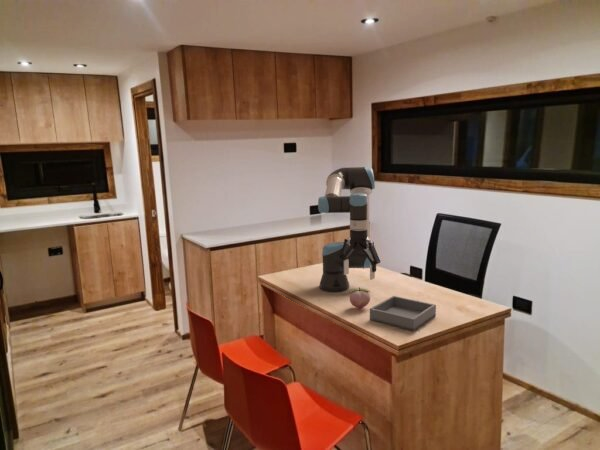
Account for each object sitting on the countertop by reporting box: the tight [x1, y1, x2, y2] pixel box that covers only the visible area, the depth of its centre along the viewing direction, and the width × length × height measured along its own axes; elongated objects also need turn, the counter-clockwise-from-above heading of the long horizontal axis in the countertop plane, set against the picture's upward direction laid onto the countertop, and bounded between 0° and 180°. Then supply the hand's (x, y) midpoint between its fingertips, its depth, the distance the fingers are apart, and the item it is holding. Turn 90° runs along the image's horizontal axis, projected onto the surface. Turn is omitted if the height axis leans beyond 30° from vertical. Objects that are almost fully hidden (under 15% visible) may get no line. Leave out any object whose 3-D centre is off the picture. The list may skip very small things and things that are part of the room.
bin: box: [369, 295, 437, 333], centre depth 190 cm, size 20×20×5 cm
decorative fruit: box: [349, 287, 371, 310], centre depth 203 cm, size 9×8×10 cm
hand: (359, 276), depth 201 cm, fingers open, 13 cm apart
